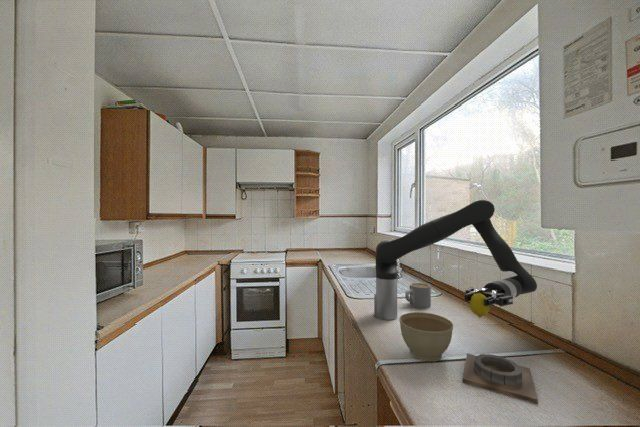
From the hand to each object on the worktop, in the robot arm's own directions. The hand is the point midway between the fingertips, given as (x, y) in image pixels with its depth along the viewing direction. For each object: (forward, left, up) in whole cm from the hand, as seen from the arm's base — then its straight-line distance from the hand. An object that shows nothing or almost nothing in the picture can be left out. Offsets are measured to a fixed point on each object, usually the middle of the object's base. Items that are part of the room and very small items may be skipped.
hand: (475, 300), depth 89 cm
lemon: (+1, +2, -6) cm, 7 cm away
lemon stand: (+6, -10, -18) cm, 21 cm away
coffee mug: (-27, +42, -18) cm, 53 cm away
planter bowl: (-14, -8, -18) cm, 24 cm away
